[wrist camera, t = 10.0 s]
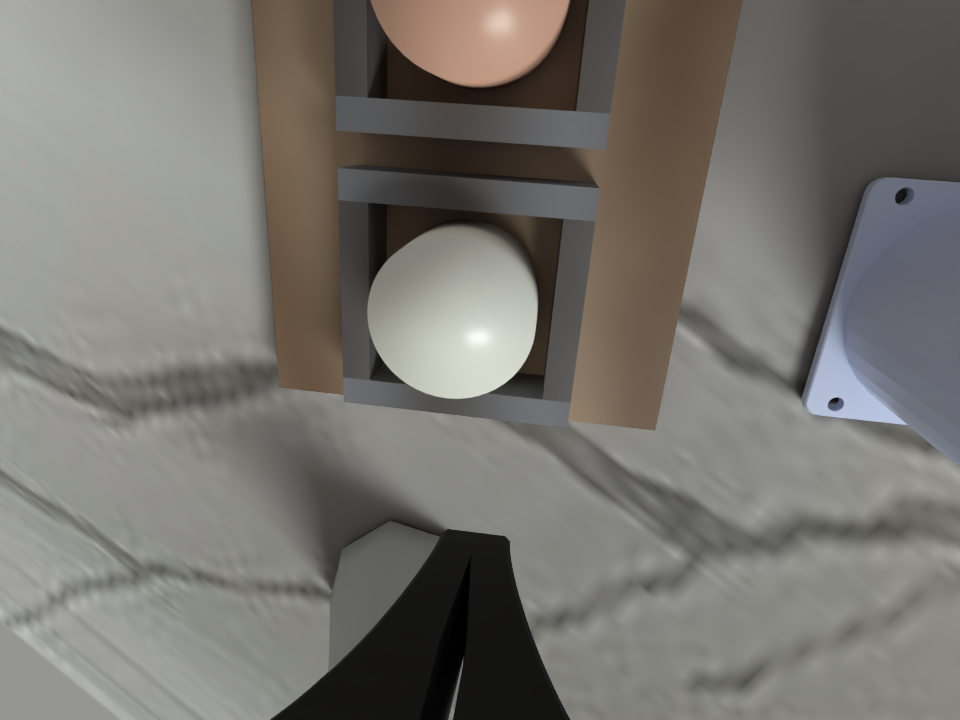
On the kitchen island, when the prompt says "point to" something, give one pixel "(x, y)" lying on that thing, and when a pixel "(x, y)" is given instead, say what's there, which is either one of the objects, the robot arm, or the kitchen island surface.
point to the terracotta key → (474, 37)
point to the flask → (373, 581)
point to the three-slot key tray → (493, 193)
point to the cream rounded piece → (455, 309)
